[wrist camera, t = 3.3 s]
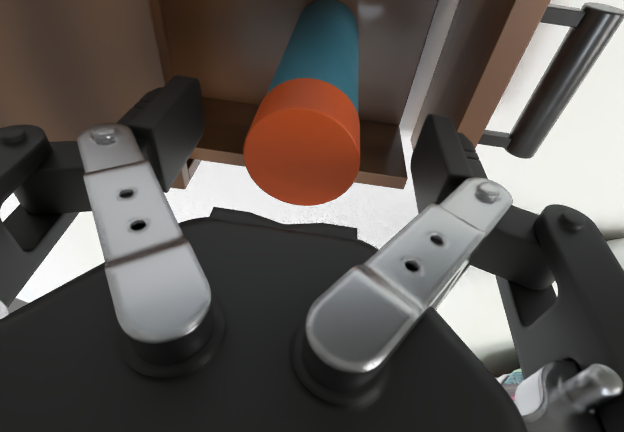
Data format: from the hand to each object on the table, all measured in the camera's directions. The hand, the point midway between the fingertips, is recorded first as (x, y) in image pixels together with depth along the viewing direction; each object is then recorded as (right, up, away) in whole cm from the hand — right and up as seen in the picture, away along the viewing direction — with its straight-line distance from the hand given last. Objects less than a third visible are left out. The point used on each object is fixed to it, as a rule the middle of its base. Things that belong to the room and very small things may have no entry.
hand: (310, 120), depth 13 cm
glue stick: (+1, +6, +6) cm, 9 cm away
